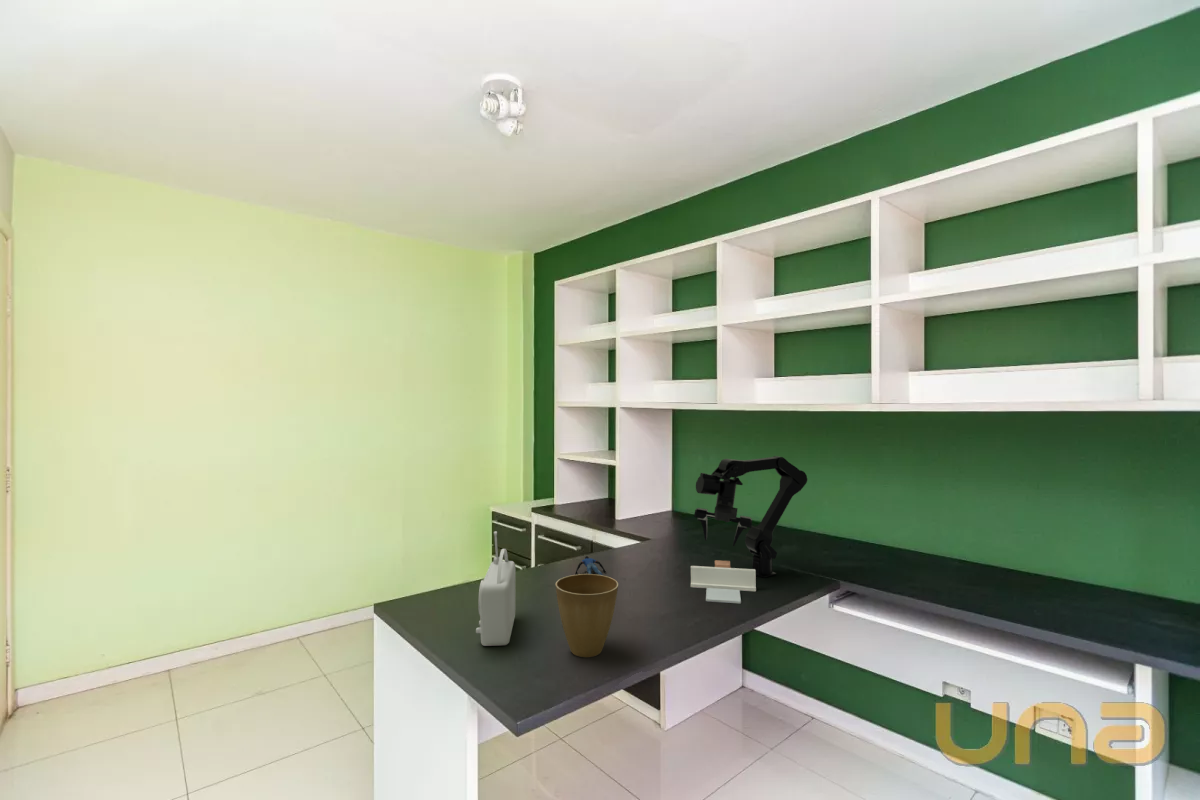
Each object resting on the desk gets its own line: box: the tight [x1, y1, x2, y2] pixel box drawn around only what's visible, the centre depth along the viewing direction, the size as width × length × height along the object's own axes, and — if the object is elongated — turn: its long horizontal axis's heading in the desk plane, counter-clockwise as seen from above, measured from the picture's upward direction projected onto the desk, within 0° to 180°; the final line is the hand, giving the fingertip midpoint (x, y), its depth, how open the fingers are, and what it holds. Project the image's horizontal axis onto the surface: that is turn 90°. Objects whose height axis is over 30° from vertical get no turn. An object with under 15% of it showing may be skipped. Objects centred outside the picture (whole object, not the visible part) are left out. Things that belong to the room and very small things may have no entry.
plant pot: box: [555, 573, 619, 658], centre depth 129 cm, size 15×15×16 cm
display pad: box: [705, 588, 742, 604], centre depth 164 cm, size 10×10×1 cm
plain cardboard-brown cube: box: [714, 559, 731, 568], centre depth 183 cm, size 5×5×5 cm
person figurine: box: [574, 555, 607, 575], centre depth 185 cm, size 11×4×18 cm
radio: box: [475, 530, 516, 647], centre depth 140 cm, size 22×8×25 cm, turn 4°
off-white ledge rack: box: [690, 565, 757, 592], centre depth 173 cm, size 4×20×6 cm, turn 78°
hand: (719, 543), depth 182 cm, fingers open, 9 cm apart
